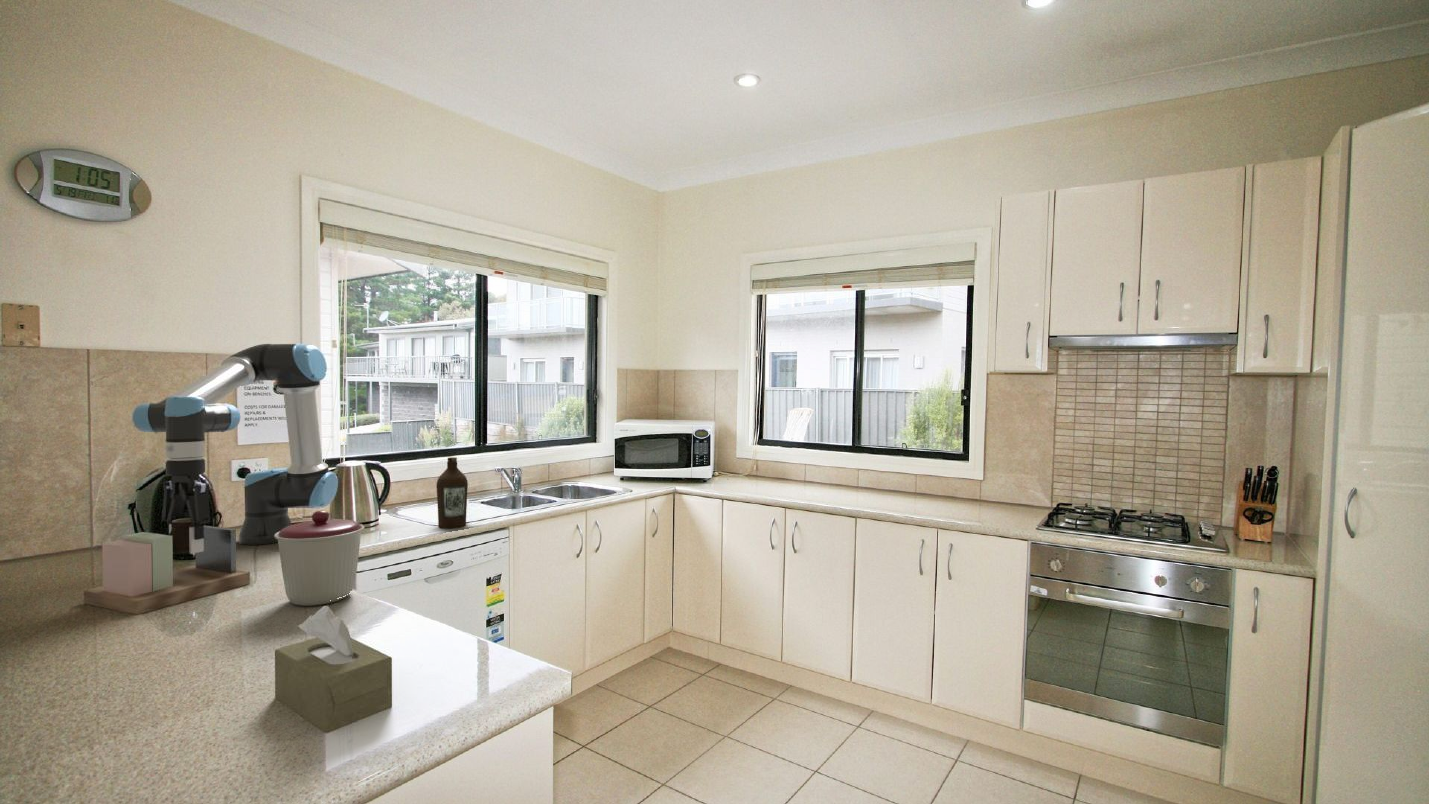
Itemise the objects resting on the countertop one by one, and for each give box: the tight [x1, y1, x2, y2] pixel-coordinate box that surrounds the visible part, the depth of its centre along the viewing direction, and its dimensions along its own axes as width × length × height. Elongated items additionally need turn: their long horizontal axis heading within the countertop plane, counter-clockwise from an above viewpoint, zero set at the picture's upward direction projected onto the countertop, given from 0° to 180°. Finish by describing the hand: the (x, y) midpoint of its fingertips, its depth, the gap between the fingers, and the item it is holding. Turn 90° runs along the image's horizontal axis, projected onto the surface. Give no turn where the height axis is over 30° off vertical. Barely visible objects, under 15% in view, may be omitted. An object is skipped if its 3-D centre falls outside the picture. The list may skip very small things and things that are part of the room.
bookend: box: [194, 525, 237, 574], centre depth 164 cm, size 1×14×11 cm, turn 69°
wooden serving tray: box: [83, 564, 251, 615], centre depth 155 cm, size 24×20×3 cm
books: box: [101, 531, 174, 597], centre depth 148 cm, size 8×11×12 cm
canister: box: [274, 510, 365, 607], centre depth 151 cm, size 18×18×21 cm
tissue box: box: [274, 605, 393, 734], centre depth 101 cm, size 19×10×16 cm, turn 54°
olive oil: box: [435, 456, 469, 529], centre depth 233 cm, size 11×11×25 cm
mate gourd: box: [168, 517, 205, 555], centre depth 158 cm, size 7×8×10 cm
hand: (186, 550), depth 158 cm, fingers closed on mate gourd, 7 cm apart
